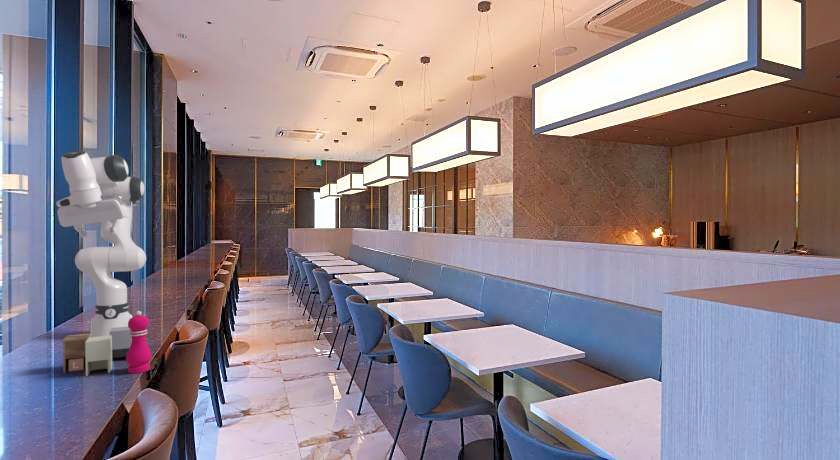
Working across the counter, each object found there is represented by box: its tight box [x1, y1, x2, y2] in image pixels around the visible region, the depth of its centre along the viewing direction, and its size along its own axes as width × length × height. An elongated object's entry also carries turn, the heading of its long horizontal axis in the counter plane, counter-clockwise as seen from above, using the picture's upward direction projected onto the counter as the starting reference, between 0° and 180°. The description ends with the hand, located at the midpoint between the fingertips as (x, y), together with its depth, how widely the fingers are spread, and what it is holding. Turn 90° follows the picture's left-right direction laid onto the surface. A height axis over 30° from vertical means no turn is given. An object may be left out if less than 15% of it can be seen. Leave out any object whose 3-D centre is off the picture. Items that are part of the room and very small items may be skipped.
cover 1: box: [85, 335, 113, 377], centre depth 150 cm, size 6×6×11 cm
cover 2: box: [109, 327, 132, 361], centre depth 163 cm, size 6×6×11 cm
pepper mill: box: [125, 310, 153, 375], centre depth 151 cm, size 7×7×20 cm
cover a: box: [62, 332, 91, 374], centre depth 152 cm, size 6×6×11 cm
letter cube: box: [68, 357, 85, 372], centre depth 152 cm, size 4×4×4 cm
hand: (98, 234), depth 165 cm, fingers open, 8 cm apart
